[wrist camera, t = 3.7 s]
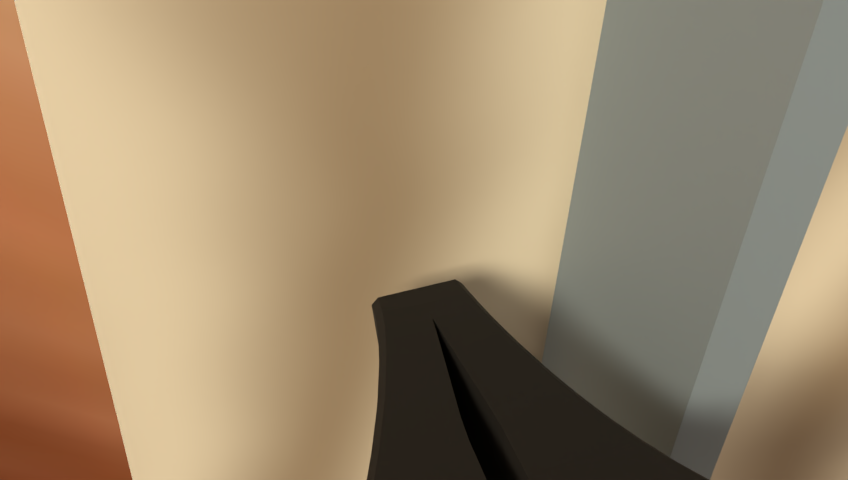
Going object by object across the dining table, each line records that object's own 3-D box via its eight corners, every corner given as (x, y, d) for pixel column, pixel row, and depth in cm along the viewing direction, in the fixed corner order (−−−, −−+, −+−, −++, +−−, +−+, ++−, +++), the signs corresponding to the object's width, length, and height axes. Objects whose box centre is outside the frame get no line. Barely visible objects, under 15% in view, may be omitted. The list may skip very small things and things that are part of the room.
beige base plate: (171, 593, 18) (171, 911, 14) (-132, -696, 7) (-741, -1424, 2) (892, 449, 23) (1078, 651, 18) (1417, -470, 12) (2264, -561, 7)
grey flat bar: (633, -233, 9) (880, -178, 6) (723, -230, 10) (1005, -175, 6) (508, 503, 17) (587, 699, 14) (559, 493, 18) (649, 684, 14)
